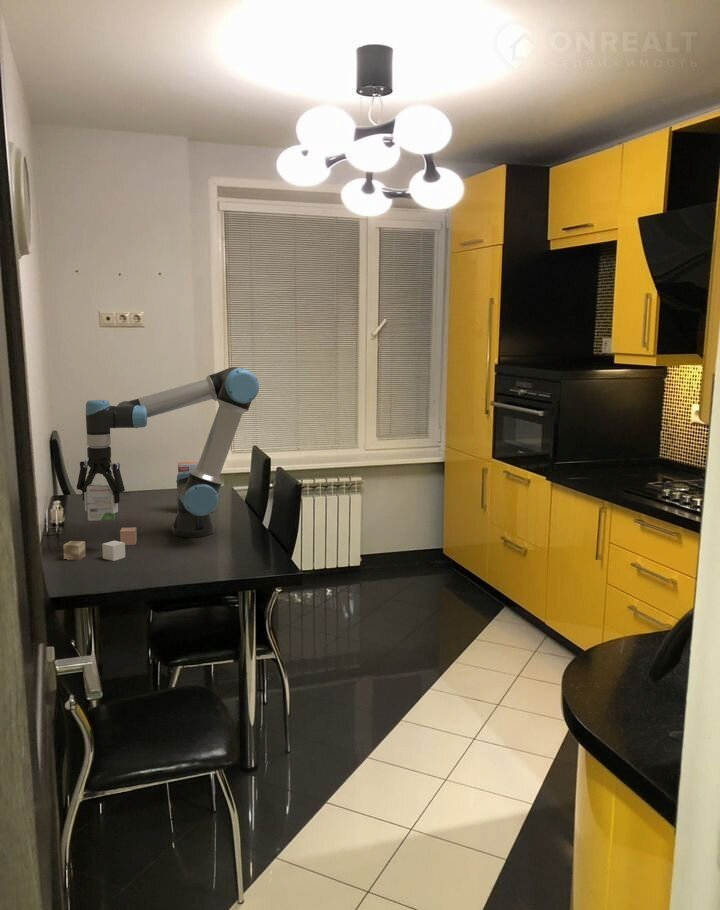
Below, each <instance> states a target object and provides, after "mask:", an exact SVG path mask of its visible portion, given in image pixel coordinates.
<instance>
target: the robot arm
mask: <svg viewBox="0 0 720 910" xmlns="http://www.w3.org/2000/svg"><path fill="white" fill-rule="evenodd" d="M259 391H260V383H259V380H258V377H257V376H256V375H255V374H254V373H253V372H252V371H251V370H248V369H247V368H242V367H237V366H235V367H234V366H233V367H228V368H225V369H222V370H220V371H218V372H215V373H211V374H208V375H207V376H206V377H205V379H201V380H197V381H195V382H190V383H187V384H185V385H181V386H178V387H174V388H169V389H167V390H163V391H160V392H156V393H151V394H149V395H146V396H142V397H139V398H136V399H135V398H134V399H132V400H124V401H121V402H119V403H118V404H117V405H111V404H110V401H109V400H107V399H90V400H87V401H86V403H85V427H86V428H85V429H86V445H87V448H86V449H87V451H86V453H87V455H86V456H87V459H88V460H84V461H80V462H79V474H78V479H77V484H76V490H78V491H81V492H82V501H84V511H85V512H88V510H87V486H88V485H92V484H93V481H94V479H95V477H96V476H97V474H99V475H102V476H103V477H104V478H105V480H106V483H107V484H109V486H110V488H111V490H112V492H113V493H112V494H111V512H112V513H115V514H116V513H118V512H119V506H118V505H119V503H120V500H121V499H120V494H121V493H123V492H125V491H126V490H125V489H126V488H125V486H124V481H123V477H122V474H121V471H120V469H121V467H120V465H121V464H120V462H116V463H115V462H112V460H111V458H112V447H111V443H112V442H111V441H112V440H111V429H126V428H127V429H138V428H145V427H147V425H148V418H151V417H155V416H157V415H162V414H164V413H168V412H171V411H175V410H179V409H182V408H185V407H189V406H193V405H196V404H199V403H203V402H207V401H210V400H212V401H213V400H214V401H217V403H218V408H217V411H216V414H215V416H214V419H213V422H212V424H211V427H210V430H209V433H208V436H207V438H206V442H205V445H204V447H203V450H202V453H201V456H200V457H199V461H198V462H199V463H198V466H197V468H196V469H195V470H193V471H191V472H183V473H179V474H178V473H177V475H176V481H175V482H176V508H177V510H176V511H177V512H176V515H175V519H174V522H173V525H172V534H173V535H174V536H177V537H182V538H201V537H202V538H203V537H206V536H210V535H212V534H214V533H215V526H214V522H213V520H212V517H211V513H213V512H214V511H215V509H216V508H217V506H218V503H219V492H220V490H221V487H222V484H223V482H222V480H221V474H222V471H223V469H224V465H225V463H226V460H227V457H228V455H229V452H230V449H231V446H232V443H233V441H234V438H235V435H236V432H237V430H238V427H239V424H240V421H241V419H242V417H243V415H244V413H247V412H249V410H250V406H251V404H252V401H253V400H255V399H256V397H257V396H258V394H259ZM88 467H89V471H88ZM87 474H88V475H87ZM212 511H213V512H212Z"/></svg>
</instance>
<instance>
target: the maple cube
mask: <svg viewBox="0 0 720 910" xmlns="http://www.w3.org/2000/svg"><path fill="white" fill-rule="evenodd" d="M62 547H63V560H64V559H67V560H66V561H81V560H82V559H83V558H84V557H86V556H87V554H86V541H84V540H83V541H82V540H70V541H68V542H66V543H64V544H63V545H62Z"/></svg>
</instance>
